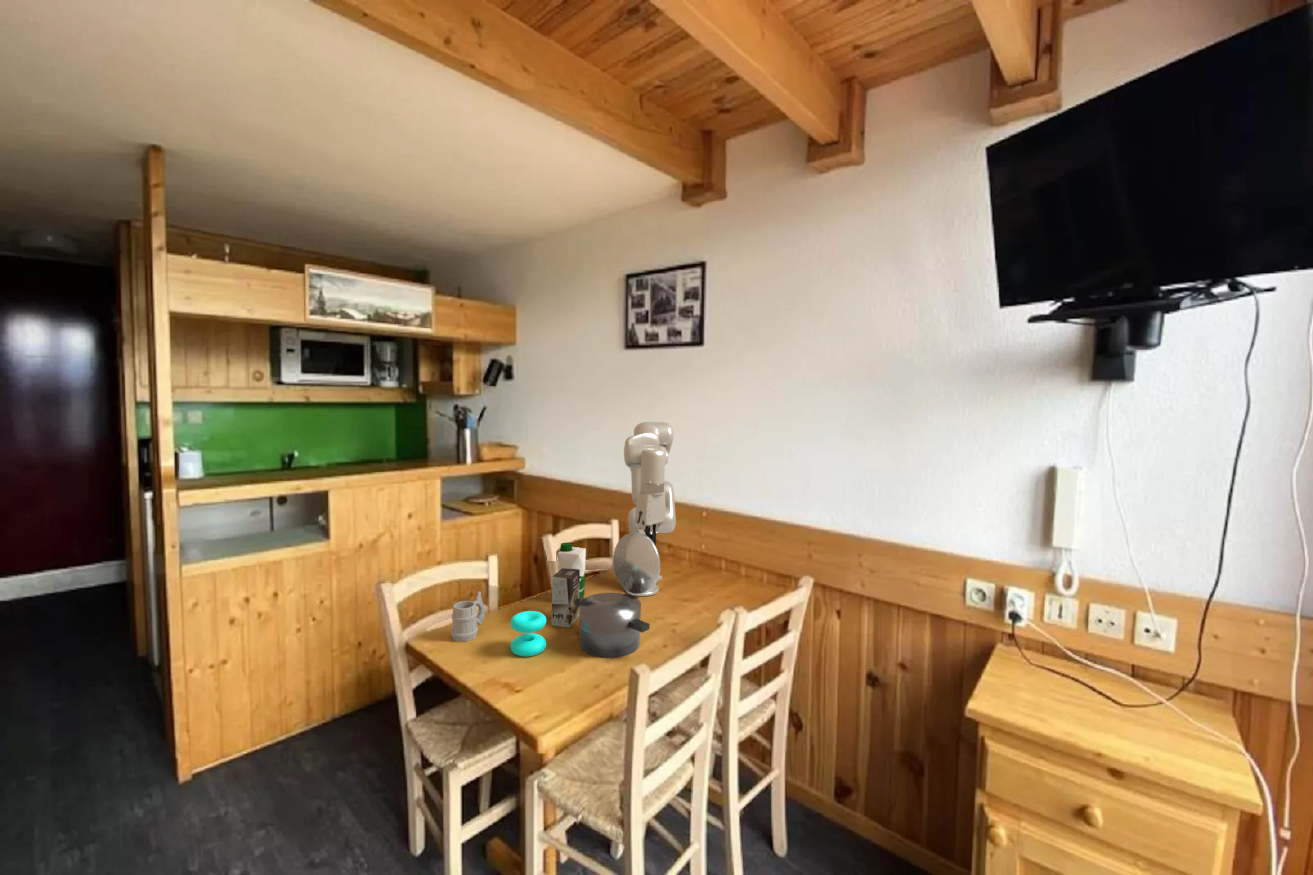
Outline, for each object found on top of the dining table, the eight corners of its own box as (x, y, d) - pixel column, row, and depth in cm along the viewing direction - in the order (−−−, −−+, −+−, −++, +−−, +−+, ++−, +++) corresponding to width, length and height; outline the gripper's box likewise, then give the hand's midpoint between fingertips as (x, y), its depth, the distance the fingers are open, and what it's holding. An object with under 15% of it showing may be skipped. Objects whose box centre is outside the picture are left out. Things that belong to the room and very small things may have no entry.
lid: (609, 585, 178) (615, 583, 180) (654, 600, 166) (659, 599, 168) (616, 527, 178) (622, 527, 180) (661, 539, 166) (667, 538, 168)
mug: (445, 638, 166) (444, 599, 165) (475, 623, 177) (474, 587, 176) (463, 644, 163) (463, 605, 162) (493, 629, 173) (493, 591, 172)
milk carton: (563, 593, 203) (564, 540, 201) (587, 596, 202) (588, 542, 200) (554, 603, 195) (555, 547, 193) (579, 605, 193) (580, 549, 191)
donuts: (529, 627, 153) (502, 618, 158) (529, 661, 154) (503, 652, 159) (553, 614, 162) (527, 606, 167) (553, 647, 163) (527, 638, 168)
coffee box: (570, 628, 176) (570, 578, 174) (550, 625, 177) (551, 576, 175) (579, 616, 185) (580, 569, 183) (561, 614, 186) (561, 567, 184)
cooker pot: (599, 619, 183) (600, 583, 182) (666, 647, 165) (667, 608, 164) (555, 638, 169) (555, 599, 167) (623, 671, 151) (624, 628, 150)
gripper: (658, 483, 184) (656, 538, 185) (627, 489, 172) (625, 547, 174) (676, 486, 179) (674, 542, 181) (645, 493, 167) (644, 552, 169)
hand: (650, 545), depth 177 cm, fingers closed
